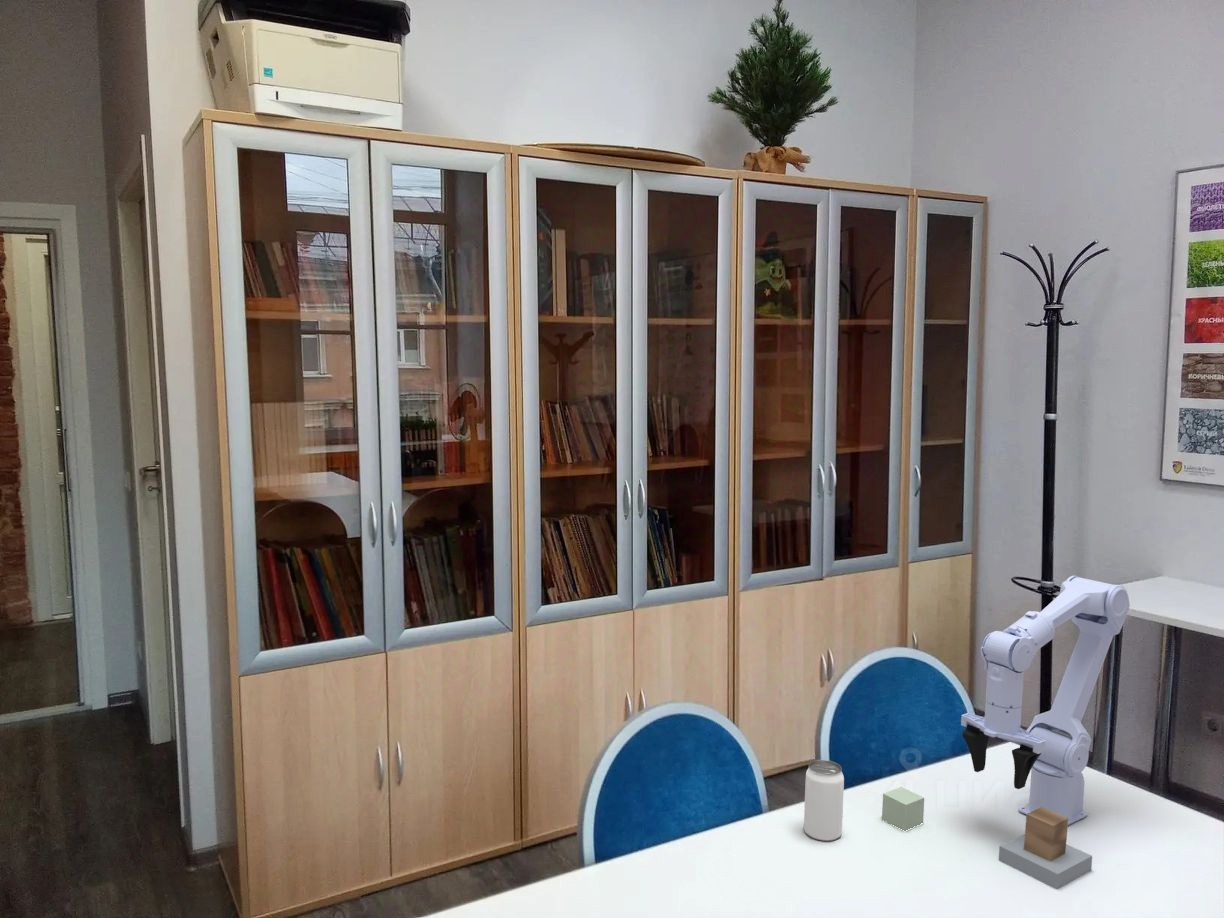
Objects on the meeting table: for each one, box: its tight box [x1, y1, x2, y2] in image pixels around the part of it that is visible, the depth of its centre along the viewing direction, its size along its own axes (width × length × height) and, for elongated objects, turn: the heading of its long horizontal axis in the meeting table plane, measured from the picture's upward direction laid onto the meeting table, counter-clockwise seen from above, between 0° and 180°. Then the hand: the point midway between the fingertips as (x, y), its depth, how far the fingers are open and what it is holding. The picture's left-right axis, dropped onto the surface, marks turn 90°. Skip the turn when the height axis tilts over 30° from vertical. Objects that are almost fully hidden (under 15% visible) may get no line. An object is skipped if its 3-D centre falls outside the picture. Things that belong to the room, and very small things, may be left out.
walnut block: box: [1024, 807, 1069, 861], centre depth 148 cm, size 4×4×6 cm
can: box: [803, 759, 845, 842], centre depth 158 cm, size 6×6×12 cm
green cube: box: [881, 786, 925, 832], centre depth 162 cm, size 5×5×5 cm
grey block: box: [998, 833, 1093, 890], centre depth 149 cm, size 10×10×3 cm
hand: (998, 778), depth 157 cm, fingers open, 7 cm apart
